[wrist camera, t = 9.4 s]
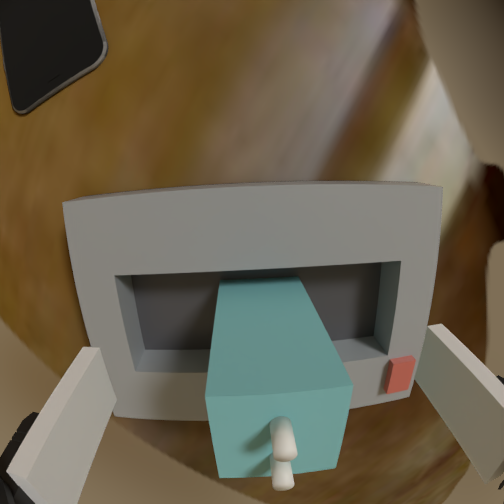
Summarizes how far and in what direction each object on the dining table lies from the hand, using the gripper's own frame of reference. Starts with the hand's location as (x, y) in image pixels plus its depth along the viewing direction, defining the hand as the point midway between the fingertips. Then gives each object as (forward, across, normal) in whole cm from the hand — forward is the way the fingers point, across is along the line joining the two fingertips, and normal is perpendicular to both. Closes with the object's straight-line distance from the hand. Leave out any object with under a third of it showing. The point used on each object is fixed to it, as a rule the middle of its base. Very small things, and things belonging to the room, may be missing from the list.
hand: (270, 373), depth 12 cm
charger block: (+8, 0, -1) cm, 8 cm away
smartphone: (+9, -14, +20) cm, 26 cm away
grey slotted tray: (+8, 0, -1) cm, 8 cm away
